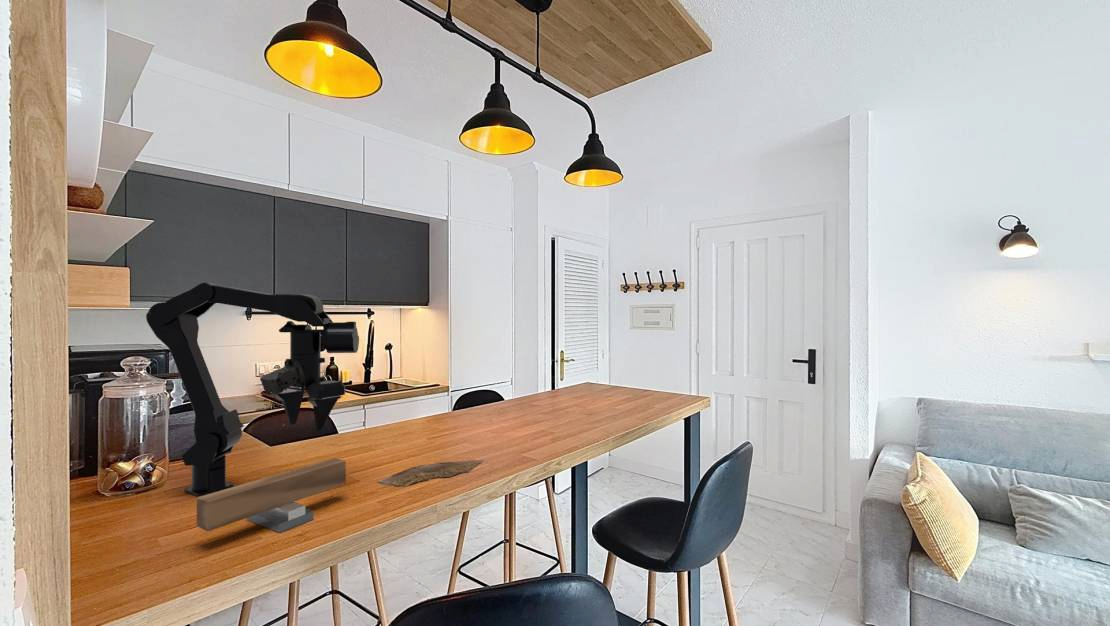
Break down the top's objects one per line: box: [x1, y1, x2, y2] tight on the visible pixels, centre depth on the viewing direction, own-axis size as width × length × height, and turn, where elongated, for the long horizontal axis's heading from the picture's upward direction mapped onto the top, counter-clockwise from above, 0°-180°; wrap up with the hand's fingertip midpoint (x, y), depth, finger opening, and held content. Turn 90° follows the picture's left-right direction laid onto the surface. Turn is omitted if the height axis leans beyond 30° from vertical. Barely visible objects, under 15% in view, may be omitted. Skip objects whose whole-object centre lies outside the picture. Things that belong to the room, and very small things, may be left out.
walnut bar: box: [196, 457, 347, 532], centre depth 86 cm, size 4×24×4 cm, turn 150°
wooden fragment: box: [376, 459, 485, 488], centre depth 112 cm, size 26×11×1 cm, turn 126°
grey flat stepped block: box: [246, 501, 314, 534], centre depth 86 cm, size 10×6×3 cm, turn 60°
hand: (305, 427), depth 104 cm, fingers open, 9 cm apart
